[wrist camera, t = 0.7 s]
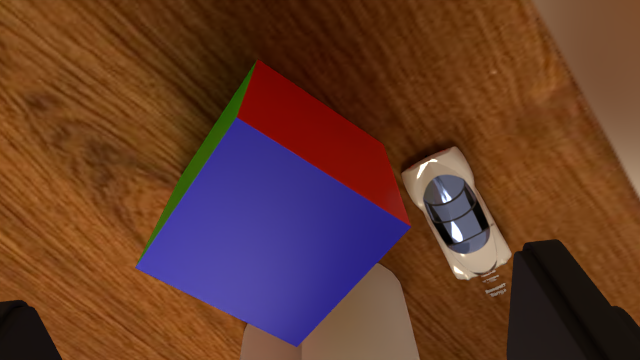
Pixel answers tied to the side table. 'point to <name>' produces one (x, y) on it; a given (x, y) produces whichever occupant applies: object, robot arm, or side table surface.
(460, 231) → the toy car
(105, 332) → the side table surface
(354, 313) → the vase
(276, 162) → the cube
